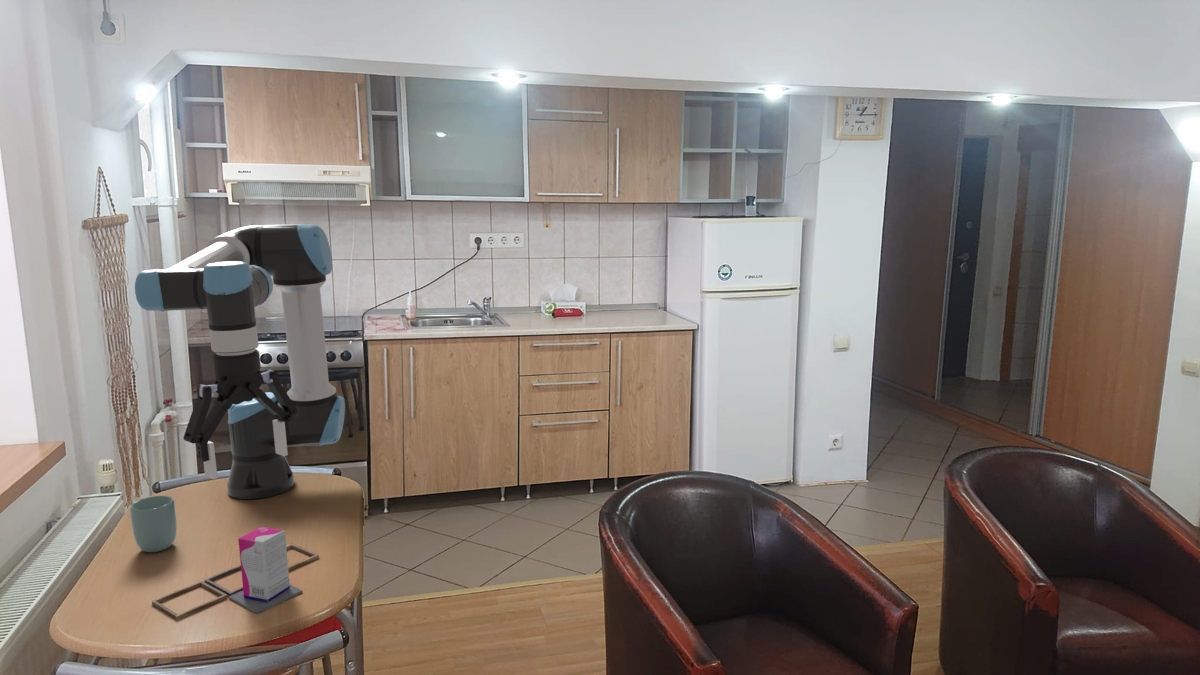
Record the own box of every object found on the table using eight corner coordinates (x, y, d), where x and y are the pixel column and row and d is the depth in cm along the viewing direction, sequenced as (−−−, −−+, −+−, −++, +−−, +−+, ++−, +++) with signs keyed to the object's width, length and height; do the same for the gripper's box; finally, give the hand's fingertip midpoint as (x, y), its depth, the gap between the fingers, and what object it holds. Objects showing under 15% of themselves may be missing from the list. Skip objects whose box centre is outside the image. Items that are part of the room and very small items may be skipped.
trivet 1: (201, 583, 147) (201, 580, 147) (227, 597, 142) (227, 594, 142) (152, 604, 140) (151, 601, 140) (177, 619, 135) (176, 616, 135)
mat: (274, 578, 149) (274, 576, 149) (302, 592, 144) (302, 590, 144) (229, 598, 142) (228, 596, 142) (256, 613, 137) (256, 611, 137)
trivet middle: (249, 564, 155) (249, 561, 155) (275, 576, 150) (275, 573, 150) (204, 582, 148) (204, 579, 148) (230, 596, 143) (229, 593, 142)
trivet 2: (292, 546, 162) (292, 543, 162) (318, 557, 157) (318, 554, 157) (251, 563, 155) (251, 560, 155) (277, 575, 150) (277, 572, 150)
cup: (160, 558, 158) (154, 511, 156) (126, 555, 159) (120, 508, 158) (187, 541, 165) (182, 496, 163) (155, 538, 167) (149, 494, 165)
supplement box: (291, 587, 145) (286, 529, 143) (268, 603, 139) (262, 543, 137) (266, 582, 147) (260, 525, 145) (242, 597, 141) (236, 538, 139)
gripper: (286, 336, 150) (296, 441, 154) (151, 362, 130) (167, 482, 134) (310, 340, 145) (320, 449, 150) (174, 368, 125) (190, 492, 130)
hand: (247, 465), depth 142 cm, fingers open, 13 cm apart
